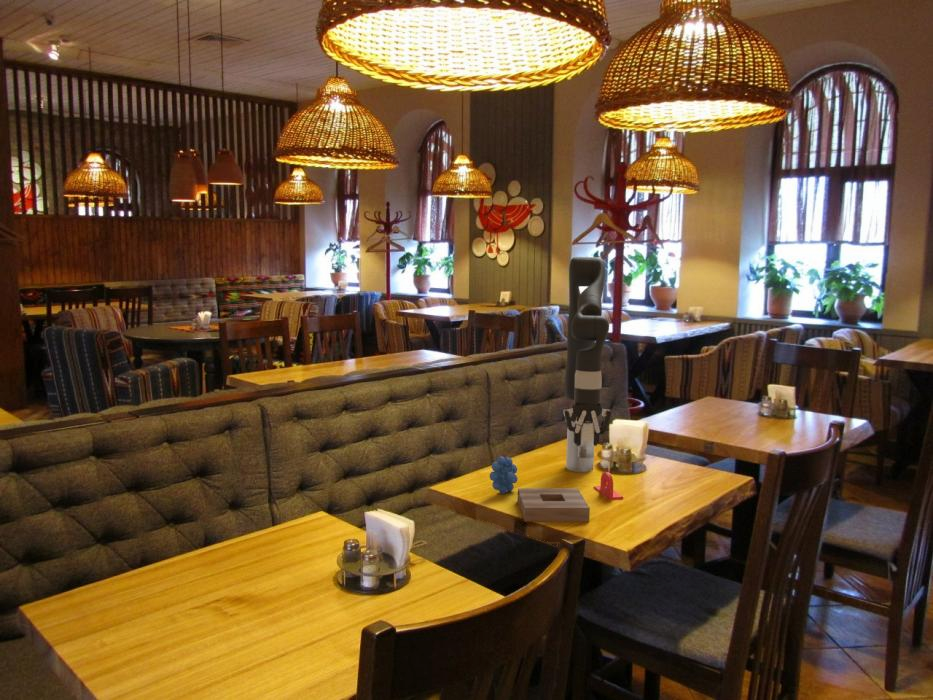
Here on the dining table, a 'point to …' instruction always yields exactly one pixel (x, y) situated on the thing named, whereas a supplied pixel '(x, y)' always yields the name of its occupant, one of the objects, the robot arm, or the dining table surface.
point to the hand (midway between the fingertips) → (586, 444)
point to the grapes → (503, 475)
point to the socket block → (552, 505)
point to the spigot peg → (586, 440)
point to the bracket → (607, 487)
